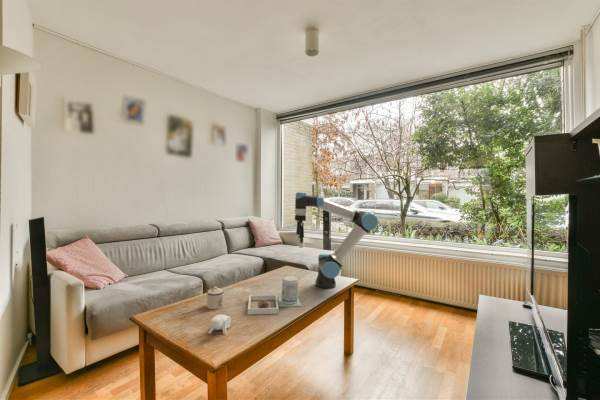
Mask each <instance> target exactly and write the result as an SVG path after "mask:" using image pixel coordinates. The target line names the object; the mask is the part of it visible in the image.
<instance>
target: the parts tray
mask: <svg viewBox="0 0 600 400" xmlns="http://www.w3.org/2000/svg"><path fill="white" fill-rule="evenodd" d="M264 300H267V301H275V307H268V308H258V307H256V308H255V307H253V308H251V303H252V301H264ZM247 305H248V306H247V315H250V316H251V315H275V314H276V315H278V314H279V311H280V309H279V308H280V307H279V301H278V294H249V297H248V304H247Z"/></svg>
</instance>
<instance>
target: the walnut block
mask: <svg viewBox="0 0 600 400" xmlns="http://www.w3.org/2000/svg"><path fill="white" fill-rule="evenodd" d="M257 308H270V307H269V300H257Z"/></svg>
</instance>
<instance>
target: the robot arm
mask: <svg viewBox="0 0 600 400" xmlns="http://www.w3.org/2000/svg"><path fill="white" fill-rule="evenodd" d="M294 198H295V202H294V204H295V207H294V208H295V209H294V214H295V215H294V221H296V222H297V223H296V244H295V245H298V248H299V249H300V248H302V249H303V248H304V238H305V229H304V222H305V221H307V216H306V215H307V207H314V208H316V209H320V210H322V211H326V212H328V213H330V214H334V215H336V216H338V217H341V218H345V219H346V220H349V222H350V223H353V227H352V229H351V231H350V232H349V233H348V234H347V236H346V237H345V238H344V240H343V241H341V243H340V245H338V247H337V248H336V249H335V250H334V252H333V253H329V254H328V253H322V254H321V253H320V254H318V258H317V260H318V261H317V262H318V264H317V266H318V267H317V276H316V279H315V281H314V282H315V287H317V288H321V289H332V288H333V287H334V288H335V287H336V285H337V282H336V279H335V278H337V277H338V276H339V274H340V272H341V269H342V267H343V266H344V261H346V259H347V257H348V256H349V254H350V253H351V252H352V251H353V249H354V248H355V247H356V246H357V245H358V243H359V242H360V240H362V238H363V237H364V236H365V235H368V234H369V233H370V232H371V231H372V230H375V229H376V228H377V226H378V224H379V218H378V217H377V215H375V213H373V212H370V211H365V210H364V211H363V210H362V211H361V210H358V209H354V208H353V209H351V208H348V207H346V206H343V205H340V204H338V203H335V202H333V201H329V200H326V199H325V198H324V196H323V195H307V192H296V193H295V197H294Z"/></svg>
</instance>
